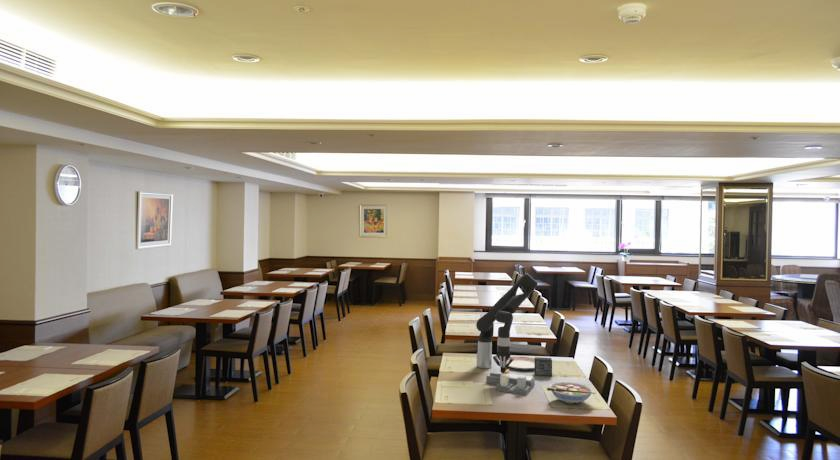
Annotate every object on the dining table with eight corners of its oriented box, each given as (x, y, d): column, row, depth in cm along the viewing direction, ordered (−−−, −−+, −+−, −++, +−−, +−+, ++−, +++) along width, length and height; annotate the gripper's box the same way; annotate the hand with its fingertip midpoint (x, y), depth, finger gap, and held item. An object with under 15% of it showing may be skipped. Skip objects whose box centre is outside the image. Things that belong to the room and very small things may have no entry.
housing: (480, 388, 314) (480, 373, 314) (490, 379, 333) (490, 365, 332) (526, 394, 303) (527, 379, 303) (534, 385, 321) (534, 371, 321)
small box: (550, 373, 347) (551, 357, 347) (552, 376, 340) (552, 360, 340) (534, 372, 348) (534, 356, 348) (535, 375, 341) (535, 359, 341)
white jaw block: (500, 387, 312) (500, 375, 311) (502, 385, 315) (502, 373, 315) (506, 388, 310) (507, 376, 310) (508, 386, 314) (509, 374, 313)
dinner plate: (543, 373, 348) (543, 368, 348) (500, 370, 353) (500, 365, 353) (542, 362, 374) (542, 357, 374) (502, 359, 380) (502, 355, 380)
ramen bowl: (592, 397, 301) (593, 382, 301) (596, 411, 279) (596, 395, 279) (546, 393, 307) (547, 378, 307) (546, 406, 285) (547, 391, 285)
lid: (502, 377, 321) (502, 371, 321) (506, 374, 328) (506, 368, 328) (530, 381, 314) (530, 375, 314) (533, 378, 321) (533, 372, 321)
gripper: (516, 344, 325) (515, 373, 325) (494, 342, 330) (494, 370, 331) (512, 346, 318) (512, 376, 318) (491, 344, 324) (490, 373, 324)
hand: (503, 373), depth 325 cm, fingers closed
